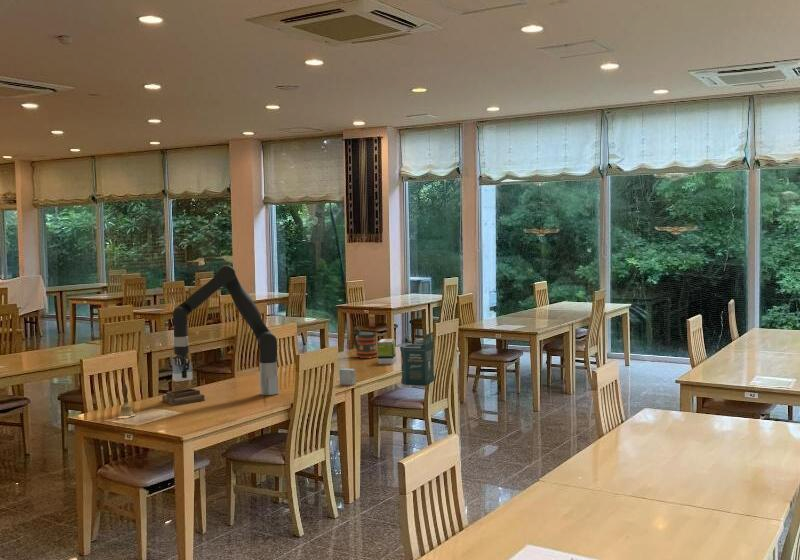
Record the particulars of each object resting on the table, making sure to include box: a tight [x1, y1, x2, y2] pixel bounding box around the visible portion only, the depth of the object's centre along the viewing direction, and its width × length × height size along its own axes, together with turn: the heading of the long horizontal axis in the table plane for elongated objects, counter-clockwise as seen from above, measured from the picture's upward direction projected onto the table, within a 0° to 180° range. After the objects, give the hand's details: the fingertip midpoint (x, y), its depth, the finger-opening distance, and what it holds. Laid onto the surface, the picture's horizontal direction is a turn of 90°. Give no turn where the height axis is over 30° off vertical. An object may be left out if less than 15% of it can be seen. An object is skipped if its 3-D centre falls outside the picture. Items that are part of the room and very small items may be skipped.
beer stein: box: [352, 327, 378, 359], centre depth 551 cm, size 19×15×20 cm
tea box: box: [376, 338, 397, 365], centre depth 525 cm, size 15×10×15 cm
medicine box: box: [339, 368, 356, 386], centre depth 451 cm, size 8×4×9 cm, turn 71°
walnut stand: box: [162, 387, 205, 406], centre depth 418 cm, size 16×16×5 cm
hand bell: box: [118, 383, 135, 416], centre depth 383 cm, size 8×8×16 cm
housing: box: [172, 363, 193, 383], centre depth 417 cm, size 9×4×8 cm, turn 130°
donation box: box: [399, 331, 436, 387], centre depth 450 cm, size 16×16×28 cm
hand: (182, 377), depth 417 cm, fingers closed on housing, 4 cm apart
